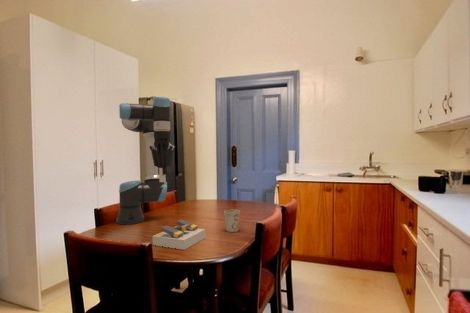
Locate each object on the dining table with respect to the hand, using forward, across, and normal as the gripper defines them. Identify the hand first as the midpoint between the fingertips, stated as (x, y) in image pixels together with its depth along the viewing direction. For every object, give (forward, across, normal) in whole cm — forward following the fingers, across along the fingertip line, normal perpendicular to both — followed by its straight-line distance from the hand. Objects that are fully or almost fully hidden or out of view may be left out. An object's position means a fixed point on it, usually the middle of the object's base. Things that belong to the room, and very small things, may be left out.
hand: (162, 181), depth 136 cm
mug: (+27, +23, +26) cm, 44 cm away
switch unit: (+26, +10, -1) cm, 28 cm away
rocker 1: (+20, +10, -7) cm, 24 cm away
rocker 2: (+20, +10, -1) cm, 23 cm away
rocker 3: (+20, +10, +5) cm, 23 cm away
